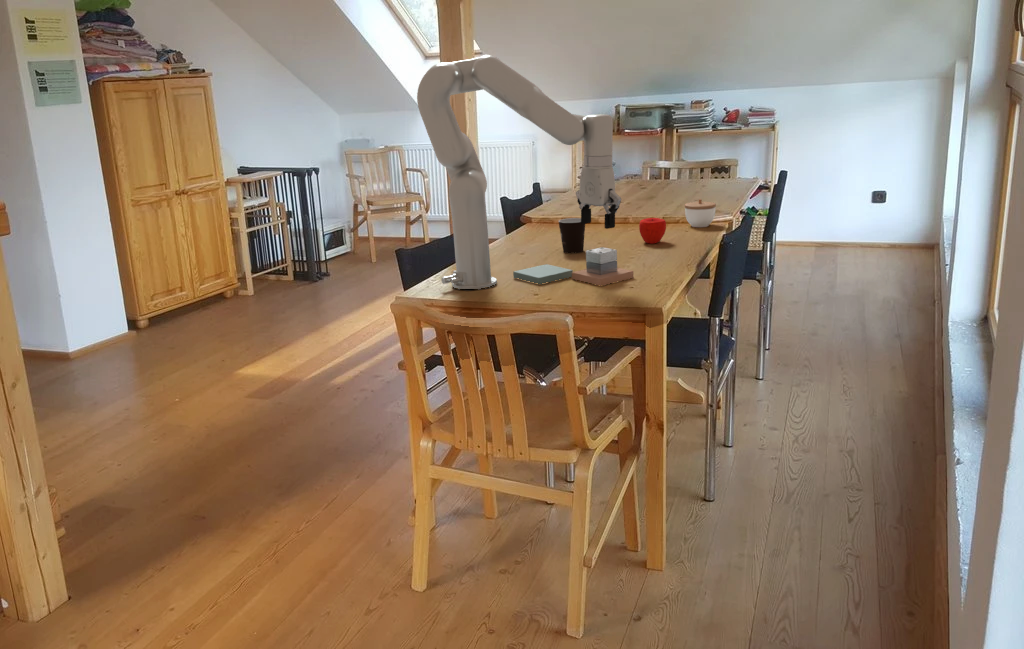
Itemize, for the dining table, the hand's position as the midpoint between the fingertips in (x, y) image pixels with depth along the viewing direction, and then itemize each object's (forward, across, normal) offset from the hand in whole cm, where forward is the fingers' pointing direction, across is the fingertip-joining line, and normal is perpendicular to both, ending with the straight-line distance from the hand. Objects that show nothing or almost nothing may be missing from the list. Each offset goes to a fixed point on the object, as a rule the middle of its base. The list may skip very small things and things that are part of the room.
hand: (597, 225), depth 234 cm
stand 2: (+15, +1, +1) cm, 15 cm away
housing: (+13, +1, +1) cm, 13 cm away
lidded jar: (+14, -32, +76) cm, 84 cm away
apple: (+14, -24, +45) cm, 53 cm away
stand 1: (+16, -13, -9) cm, 22 cm away
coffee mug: (+15, -35, +21) cm, 44 cm away
